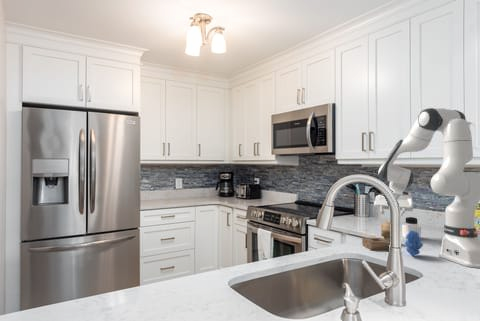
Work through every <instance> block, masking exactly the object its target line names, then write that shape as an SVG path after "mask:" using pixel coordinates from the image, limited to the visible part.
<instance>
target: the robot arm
mask: <svg viewBox="0 0 480 321" xmlns="http://www.w3.org/2000/svg"><path fill="white" fill-rule="evenodd" d="M436 132H441V134H442V145H443V146H442V147H443V159H442V164H441V166H440V168H439V169H438V171H437V172H436V173H435V174H433V175H432V177H431V179H430V184H429V185H430V188H431V189H432V191H433V192H434V193H435V194H438V195H440V196H445V197H448V196H449V197H454V200H453V201H452V202H451V203H450V204H449V205H447V206H446V208H445V210H444V211H445V213H444V216H445V217H444V225H443V232H444V235H443V238H442V240H441V249H440V253H439V254H438V258H442V259H444V260H447V261H450V262H453V263H457V264H459V265H462V266H465V267H470V268H479V269H480V239H479V235H480V231H479V230H477V229H476V226H475V224H476V223H475V222H476V221H475V220H476V218H475V216H476V210H477V207H478V204H479V202H480V173H478V172H471V171H469V172H468V171H467V172H466V171H464V170H465V166H466V165H467V164H468V163H469V162H471V160H473V156H474V153H473V150H474V148H473V139H472V138H473V137H472V132H471V127H470V124H469V122H468V120H467V119H466V115H465V114H464V112H462V111H459V110H455V109H450V108H449V109H447V108H440V107H439V108H437V107H436V108H433V107H429V108H425V109H423V110H422V111H420V113H419V115H418V117H417V119H416V120H415V121H414V123H413V124H412V126H411V128H410V130H409V132H408V134H407V136H406V137H405V138H403V139H400V140H399V141H397V143H396V144H395V146H394V147H393V149H392V150H391V151H390V153H389V154H388V156H387V157H386V158H385V160H384V162H383V163H382V164H381V166H380V167H379V169H378V173H377V176H378V177H379V178H380V180H381V181H382V180H383V181H387V182H389V186H388V189H389V188H390V189H391V190H392V191H393V193H394V195H395V197H396V198H397V201H398V203H399V206H400V210H399V211H400V212H401V216H400V217H403V215H404V214H405V213H406V212H413V210H414V201H413V196H412V193H411V192H409V191H405V190H406V189H408V188H410V187H411V186H412V185H413V182H414V176H415V174H414V172H413V170H410V169H407V168H405V167H400V166H398V165H394V163H395V161H396V159H397V158H398V156H399V155H401V154H403V153H416V152H422V151H423V150H426V149H427V148H428V147H429V145H430V143H431V142H432V139H433V137H434V134H435V133H436ZM383 195H384V194H378V195H376V196H375V199H374V202H373V206H374V208H375V209H379V210H380V215H385V211H384V210H390V209H389V206H388V204H387V201H386V199H385V197H384V196H383Z"/></svg>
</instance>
